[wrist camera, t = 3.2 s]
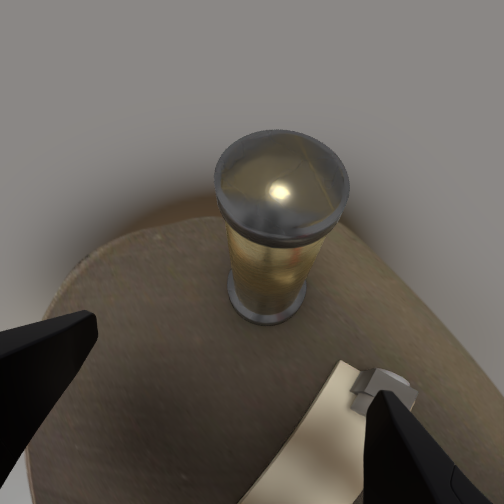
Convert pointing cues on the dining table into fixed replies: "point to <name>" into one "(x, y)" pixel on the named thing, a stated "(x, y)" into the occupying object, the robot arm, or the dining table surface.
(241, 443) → the dining table surface
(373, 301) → the dining table surface
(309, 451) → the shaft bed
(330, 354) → the dining table surface
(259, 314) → the metal capped yellow cylinder
